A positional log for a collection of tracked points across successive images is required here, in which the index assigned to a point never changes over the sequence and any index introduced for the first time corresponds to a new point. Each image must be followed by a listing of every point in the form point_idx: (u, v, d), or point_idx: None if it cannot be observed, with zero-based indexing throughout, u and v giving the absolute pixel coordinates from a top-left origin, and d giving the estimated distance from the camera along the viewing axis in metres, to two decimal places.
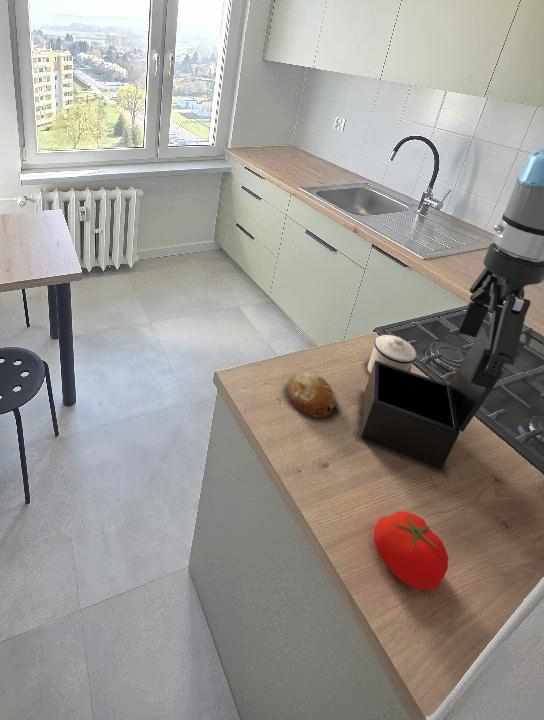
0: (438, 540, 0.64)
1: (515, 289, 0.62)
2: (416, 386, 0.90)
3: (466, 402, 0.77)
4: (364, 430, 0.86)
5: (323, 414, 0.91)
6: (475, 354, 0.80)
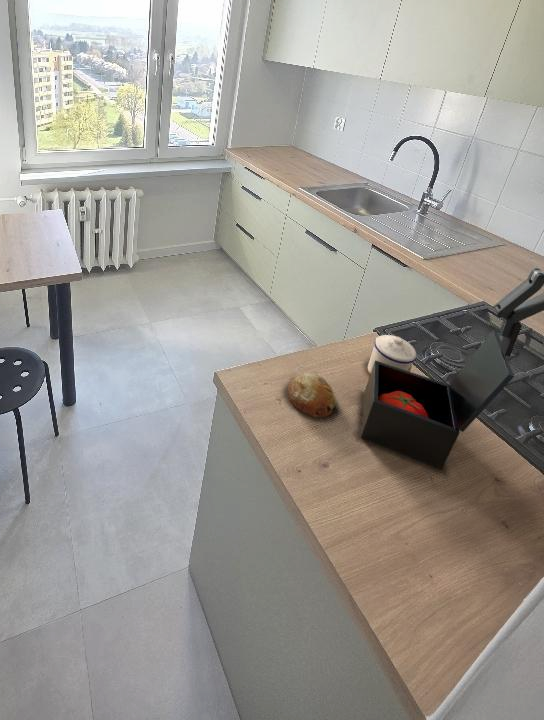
0: (421, 406, 0.86)
1: None
2: (416, 386, 0.90)
3: (469, 403, 0.77)
4: (364, 430, 0.86)
5: (323, 414, 0.91)
6: (482, 356, 0.80)
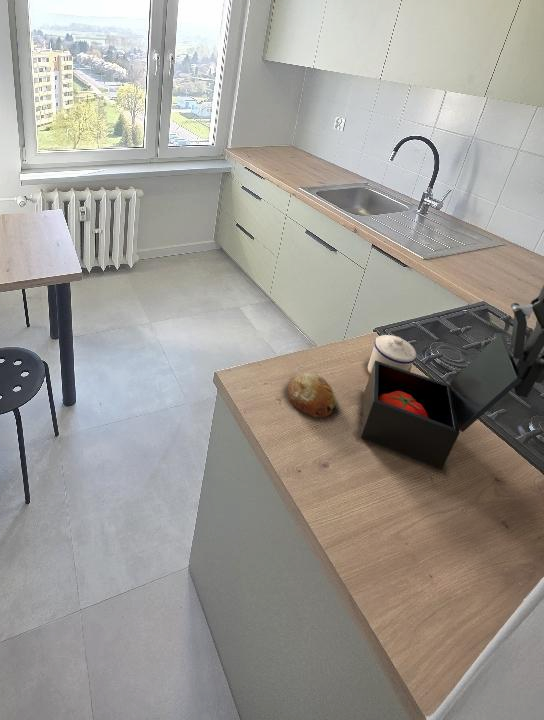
0: (421, 406, 0.86)
1: (538, 300, 0.69)
2: (416, 386, 0.90)
3: (471, 404, 0.77)
4: (364, 430, 0.86)
5: (323, 414, 0.91)
6: (486, 359, 0.80)
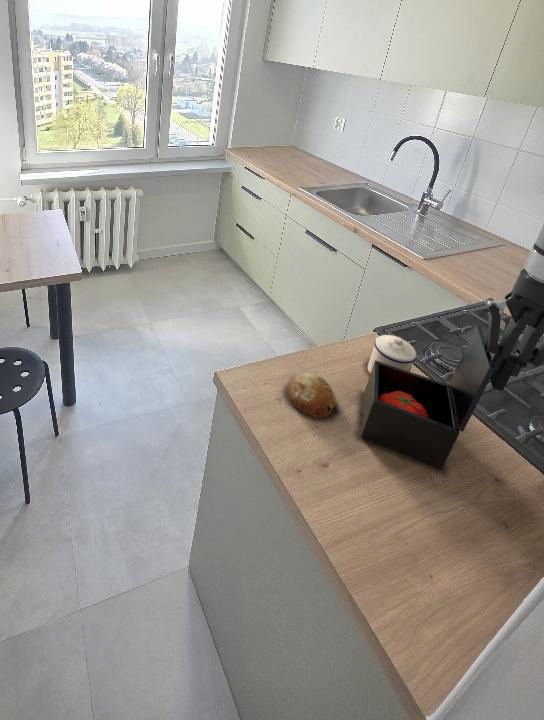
0: (421, 406, 0.86)
1: (511, 295, 0.71)
2: (416, 386, 0.90)
3: (464, 401, 0.78)
4: (364, 430, 0.86)
5: (323, 414, 0.91)
6: (470, 352, 0.80)
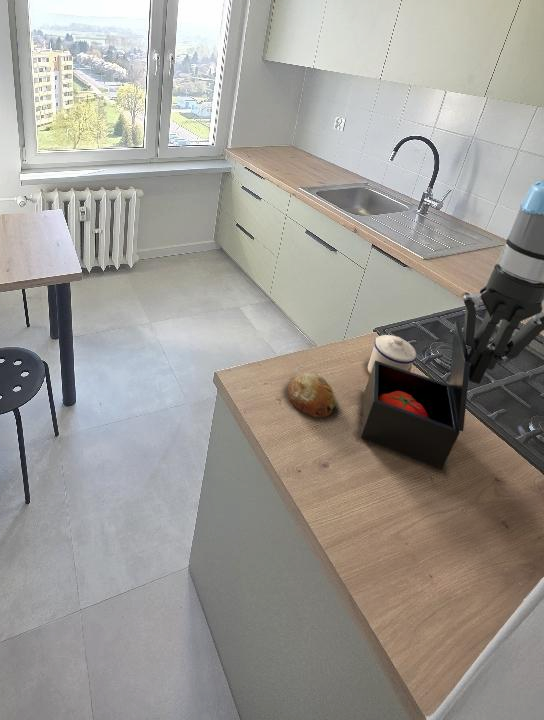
0: (421, 406, 0.86)
1: (486, 289, 0.72)
2: (416, 386, 0.90)
3: (457, 400, 0.78)
4: (364, 430, 0.86)
5: (323, 414, 0.91)
6: (455, 349, 0.82)
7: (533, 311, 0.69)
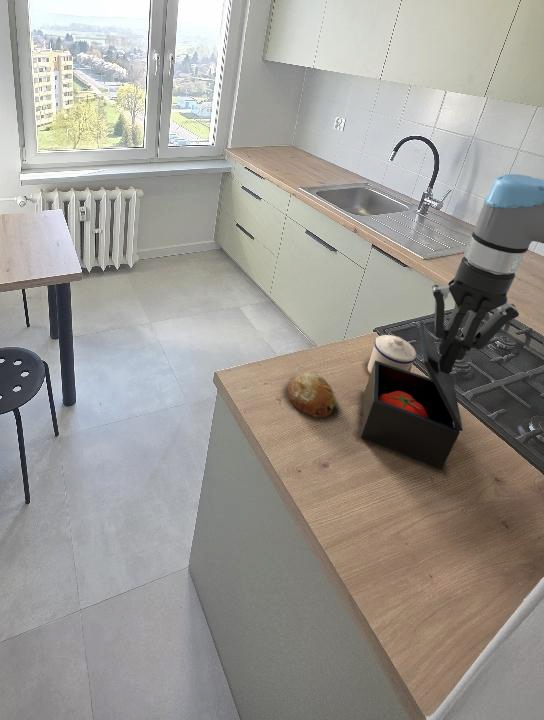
0: (421, 406, 0.86)
1: (454, 281, 0.74)
2: (416, 386, 0.90)
3: None
4: (364, 430, 0.86)
5: (323, 414, 0.91)
6: None
7: (498, 302, 0.71)
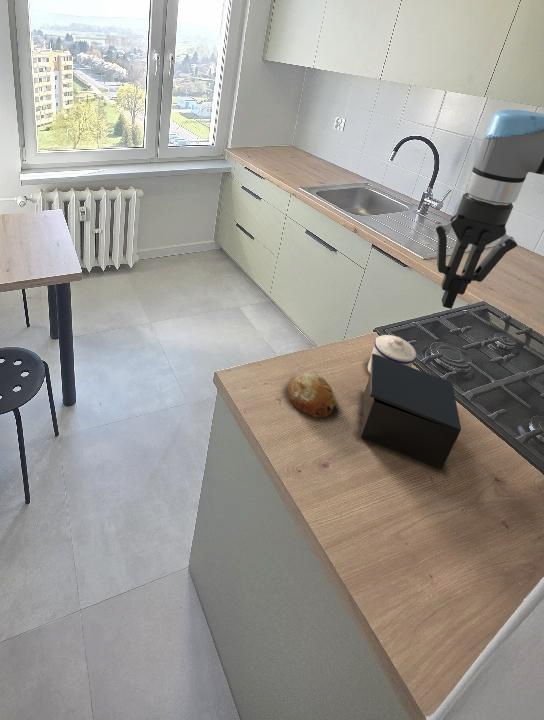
0: None
1: (455, 217, 0.79)
2: None
3: None
4: (364, 430, 0.86)
5: (323, 414, 0.91)
6: None
7: (498, 234, 0.76)
